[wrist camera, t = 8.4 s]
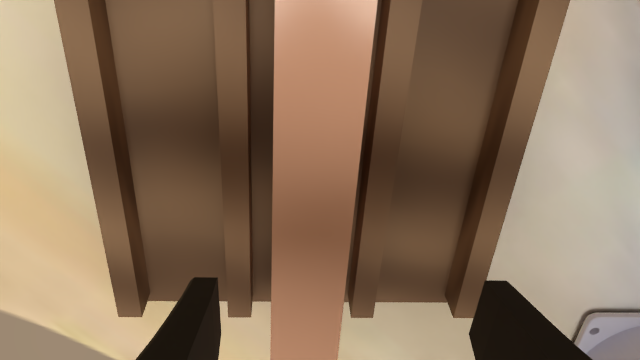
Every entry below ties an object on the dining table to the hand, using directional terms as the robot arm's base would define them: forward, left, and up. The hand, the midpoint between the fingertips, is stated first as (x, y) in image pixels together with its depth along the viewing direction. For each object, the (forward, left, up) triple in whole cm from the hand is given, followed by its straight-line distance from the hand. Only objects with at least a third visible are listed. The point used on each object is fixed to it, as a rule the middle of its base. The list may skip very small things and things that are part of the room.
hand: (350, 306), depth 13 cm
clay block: (+1, +1, -8) cm, 8 cm away
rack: (+1, +1, -8) cm, 8 cm away
